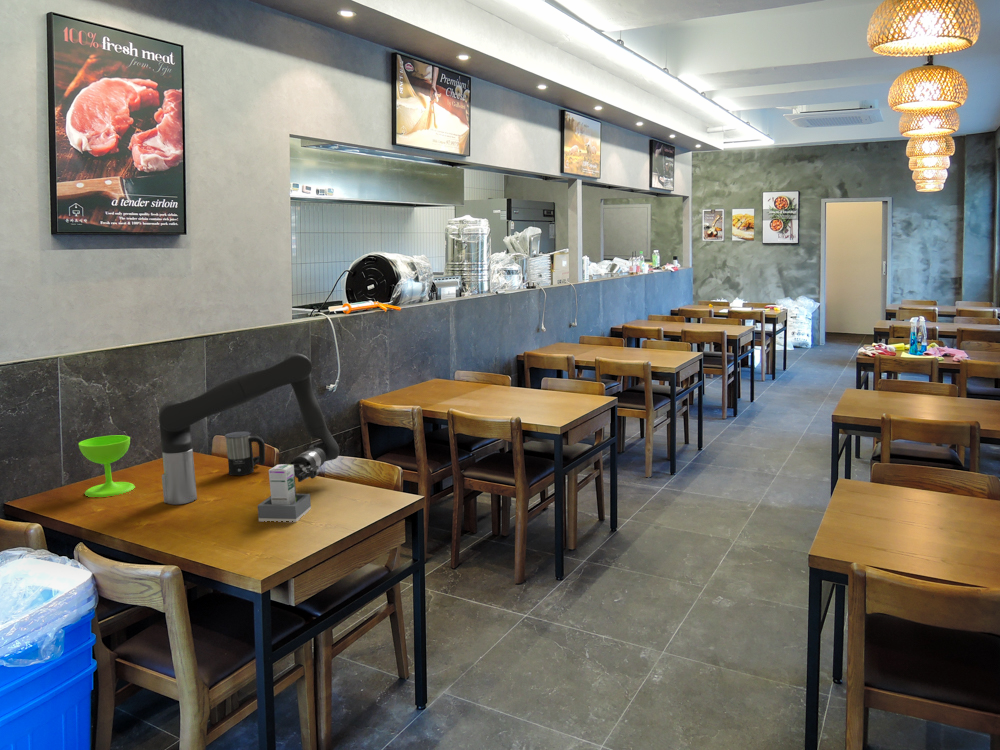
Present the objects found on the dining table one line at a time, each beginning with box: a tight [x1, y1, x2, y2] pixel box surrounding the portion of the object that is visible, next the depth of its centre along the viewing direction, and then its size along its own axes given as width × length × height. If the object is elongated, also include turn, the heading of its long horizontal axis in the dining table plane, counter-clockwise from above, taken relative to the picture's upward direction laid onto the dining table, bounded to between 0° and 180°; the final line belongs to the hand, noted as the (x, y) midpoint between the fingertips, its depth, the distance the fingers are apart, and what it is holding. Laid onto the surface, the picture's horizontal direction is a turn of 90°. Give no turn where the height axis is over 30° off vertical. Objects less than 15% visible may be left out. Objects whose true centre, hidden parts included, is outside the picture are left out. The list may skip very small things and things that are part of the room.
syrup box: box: [268, 463, 297, 505], centre depth 234 cm, size 6×6×14 cm
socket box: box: [257, 493, 312, 523], centre depth 235 cm, size 12×12×5 cm
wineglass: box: [78, 434, 136, 498], centre depth 264 cm, size 16×16×18 cm
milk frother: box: [224, 431, 266, 476], centre depth 287 cm, size 14×16×15 cm
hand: (286, 478), depth 236 cm, fingers open, 8 cm apart
